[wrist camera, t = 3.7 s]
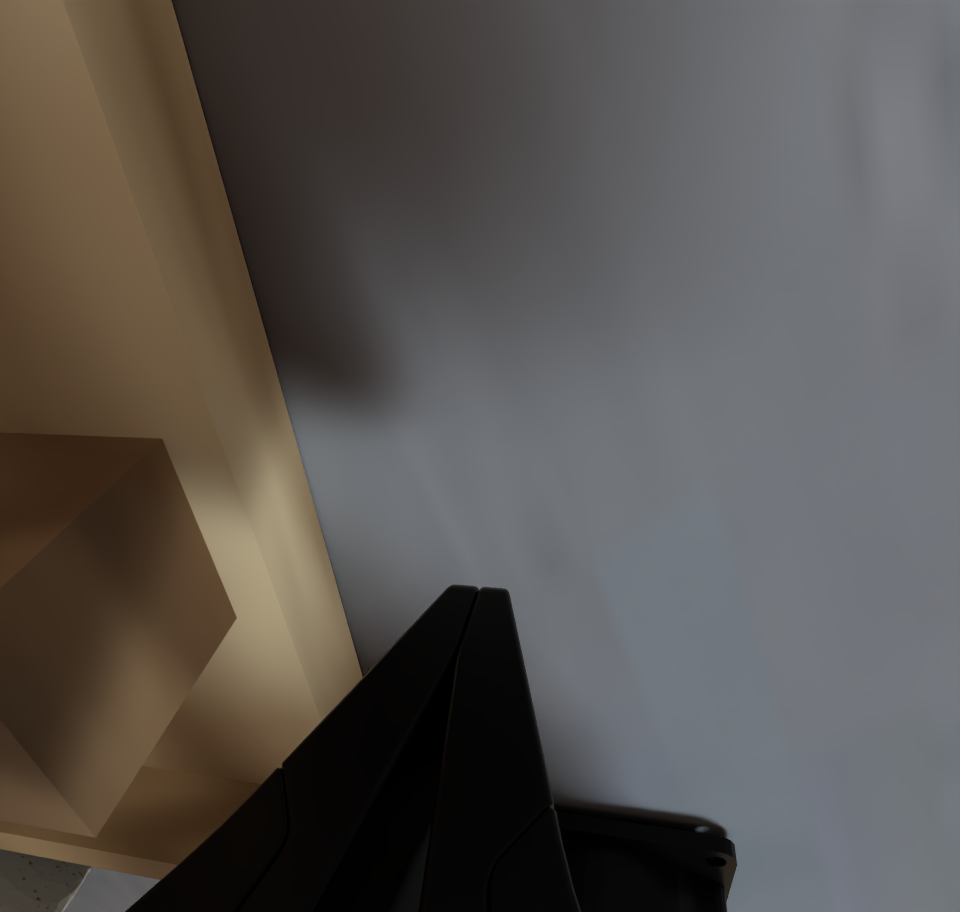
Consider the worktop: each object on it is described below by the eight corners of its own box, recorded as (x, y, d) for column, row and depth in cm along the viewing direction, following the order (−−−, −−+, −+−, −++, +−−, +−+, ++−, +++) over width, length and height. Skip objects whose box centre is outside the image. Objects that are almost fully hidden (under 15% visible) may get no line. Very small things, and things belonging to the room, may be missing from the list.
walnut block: (162, 438, 10) (-61, 645, 7) (237, 617, 12) (95, 837, 9) (-51, 430, 11) (-339, 612, 8) (56, 600, 13) (-133, 795, 10)
